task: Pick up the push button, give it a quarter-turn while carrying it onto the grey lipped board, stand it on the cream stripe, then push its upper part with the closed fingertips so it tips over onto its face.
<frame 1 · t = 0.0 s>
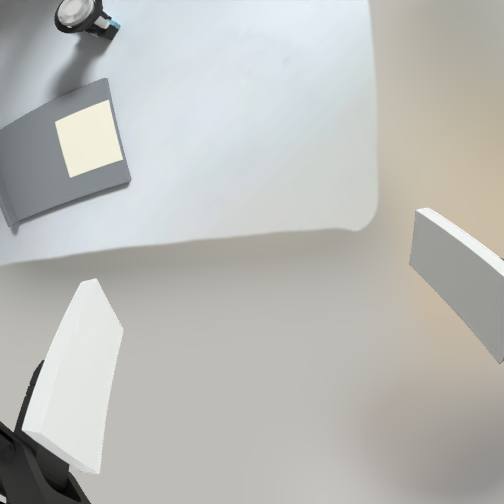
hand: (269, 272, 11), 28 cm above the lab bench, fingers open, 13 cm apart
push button: (99, 26, 24), on the lab bench
grey lipped board: (51, 154, 31), on the lab bench
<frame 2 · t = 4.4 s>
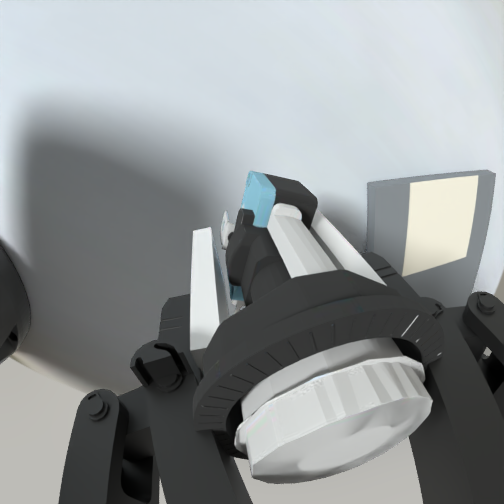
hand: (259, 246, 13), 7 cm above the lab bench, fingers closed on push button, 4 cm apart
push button: (251, 235, 13), point 6 cm above the lab bench, touching gripper
grey lipped board: (425, 281, 24), on the lab bench
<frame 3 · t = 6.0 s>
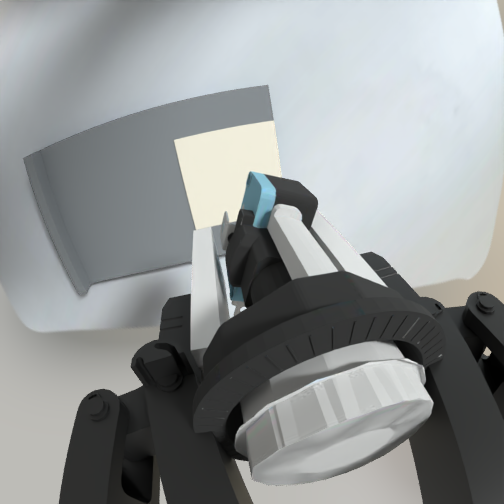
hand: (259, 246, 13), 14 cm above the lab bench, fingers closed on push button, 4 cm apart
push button: (251, 236, 13), point 13 cm above the lab bench, touching gripper
grey lipped board: (158, 189, 24), on the lab bench
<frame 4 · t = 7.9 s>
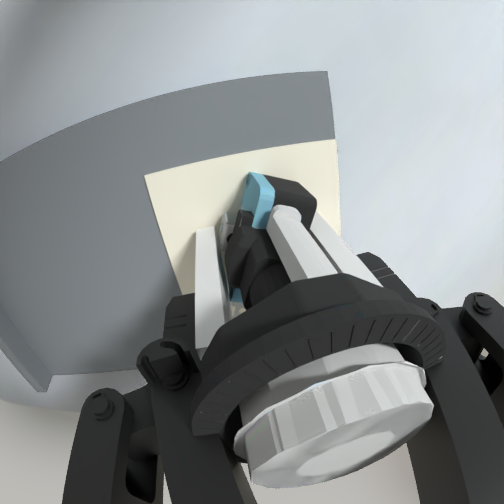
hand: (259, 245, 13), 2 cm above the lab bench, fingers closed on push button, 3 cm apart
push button: (250, 237, 13), point 1 cm above the lab bench, touching gripper, grey lipped board
grey lipped board: (126, 257, 14), on the lab bench
when the fingers open (2 cm above the lab bench, at t = 8.0 s): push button stays where it is, resting on grey lipped board.
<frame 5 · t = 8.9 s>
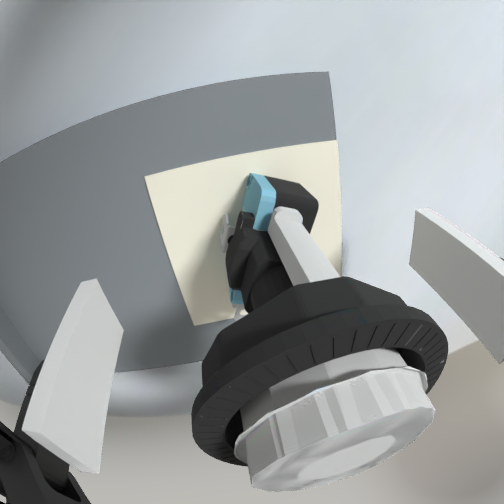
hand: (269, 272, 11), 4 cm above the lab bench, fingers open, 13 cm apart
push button: (251, 238, 13), point 1 cm above the lab bench, touching grey lipped board
grey lipped board: (126, 258, 14), on the lab bench
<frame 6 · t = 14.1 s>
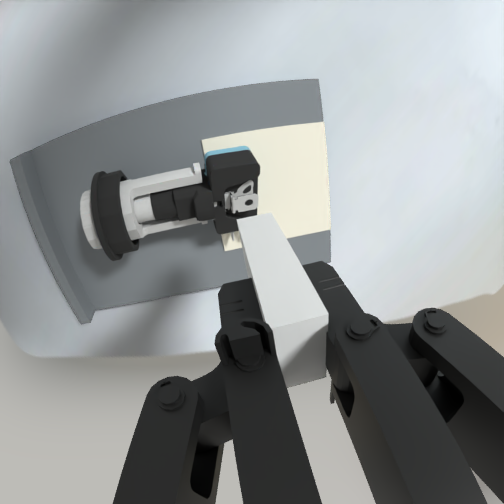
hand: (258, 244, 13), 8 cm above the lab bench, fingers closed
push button: (256, 193, 18), point 3 cm above the lab bench, touching grey lipped board
grey lipped board: (178, 200, 20), on the lab bench
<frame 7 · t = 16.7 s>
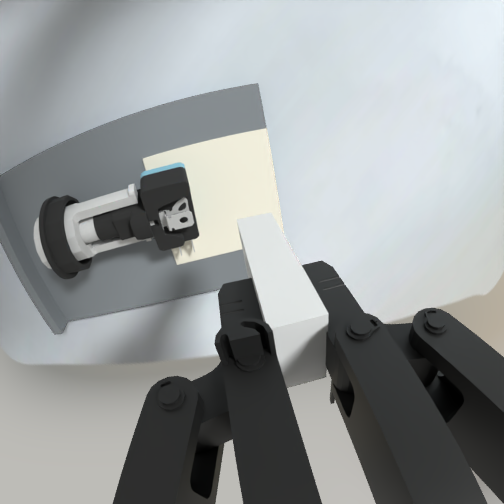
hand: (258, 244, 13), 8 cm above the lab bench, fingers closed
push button: (196, 208, 18), point 3 cm above the lab bench, touching grey lipped board
grey lipped board: (130, 217, 20), on the lab bench
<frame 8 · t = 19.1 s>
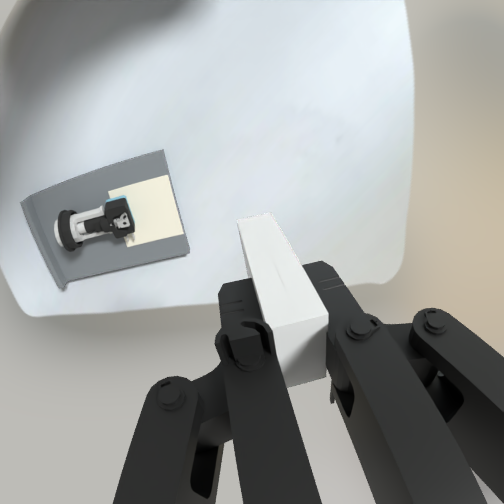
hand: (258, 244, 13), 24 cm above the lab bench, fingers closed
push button: (133, 217, 33), point 3 cm above the lab bench, touching grey lipped board
grey lipped board: (104, 221, 35), on the lab bench
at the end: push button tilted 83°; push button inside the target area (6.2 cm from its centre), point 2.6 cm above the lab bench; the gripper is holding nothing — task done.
